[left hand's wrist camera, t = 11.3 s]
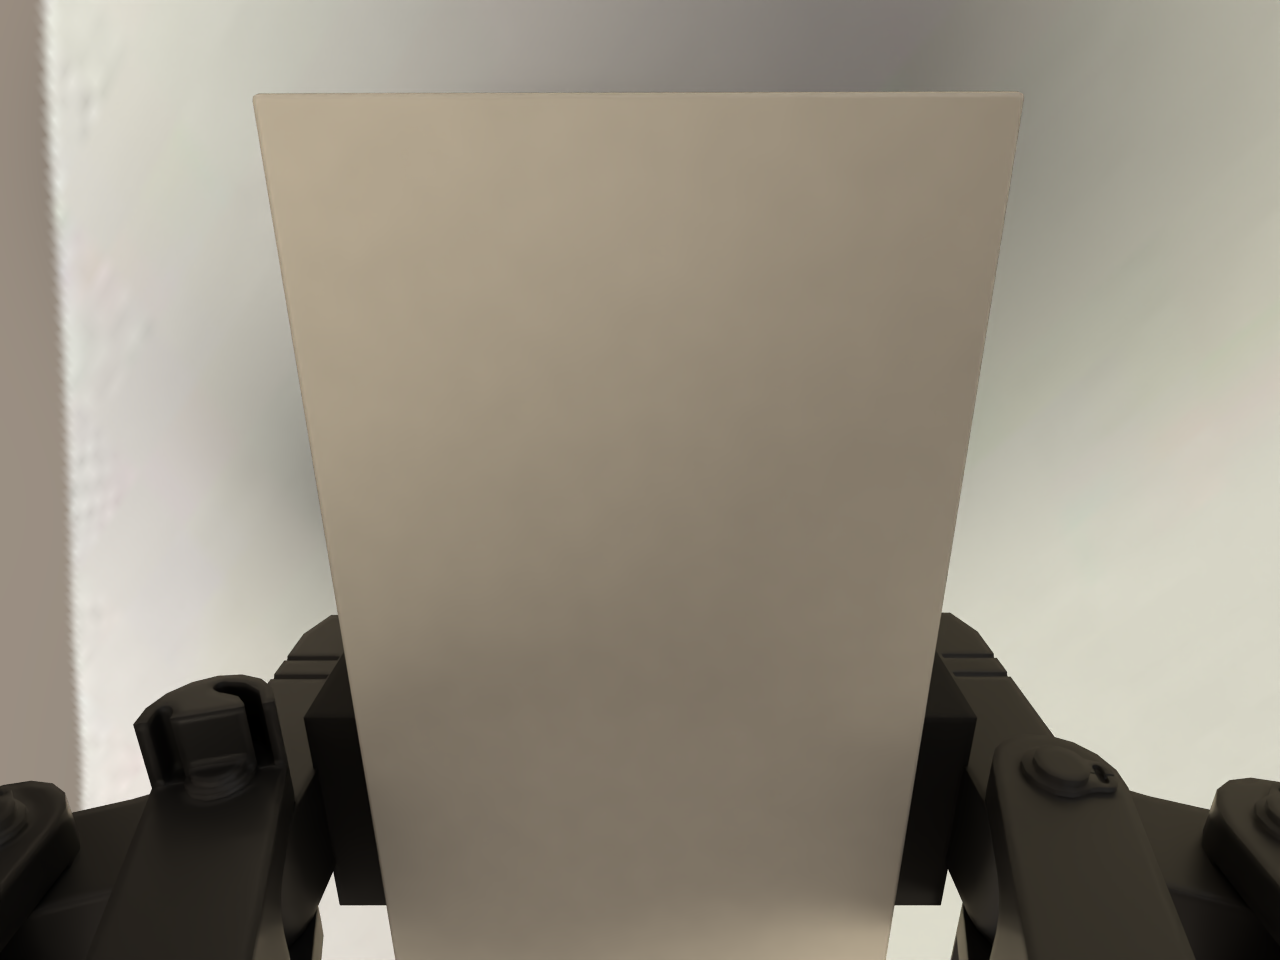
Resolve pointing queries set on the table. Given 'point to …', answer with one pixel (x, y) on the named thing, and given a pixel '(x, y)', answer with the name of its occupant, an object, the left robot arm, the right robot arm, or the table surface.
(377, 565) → the bar
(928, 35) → the table surface
